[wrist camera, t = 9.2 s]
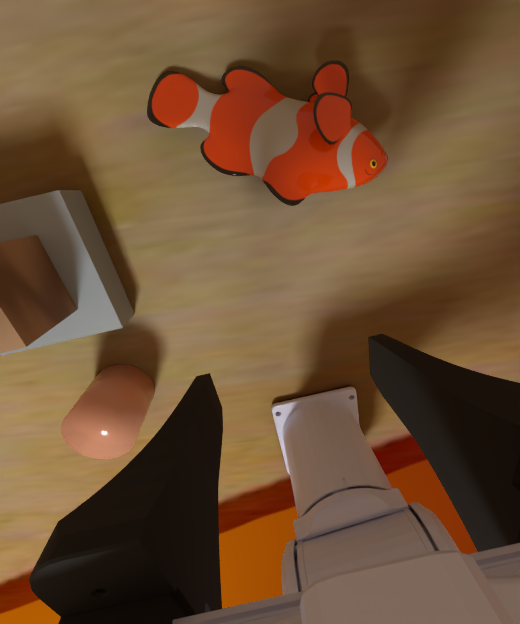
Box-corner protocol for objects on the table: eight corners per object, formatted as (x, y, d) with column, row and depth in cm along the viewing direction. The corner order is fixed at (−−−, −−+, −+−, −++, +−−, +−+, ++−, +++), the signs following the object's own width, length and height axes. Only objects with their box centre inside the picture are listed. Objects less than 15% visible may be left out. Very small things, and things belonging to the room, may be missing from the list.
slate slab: (136, 310, 22) (122, 327, 20) (26, 336, 22) (-3, 356, 20) (84, 190, 19) (58, 190, 16) (-46, 220, 19) (-94, 225, 16)
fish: (431, 126, 14) (318, 260, 16) (385, 142, 19) (300, 246, 21) (221, -138, 10) (109, 86, 12) (225, -40, 15) (141, 113, 17)
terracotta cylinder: (162, 404, 25) (146, 450, 21) (109, 416, 26) (81, 465, 21) (141, 358, 23) (119, 398, 19) (84, 371, 24) (47, 415, 19)
